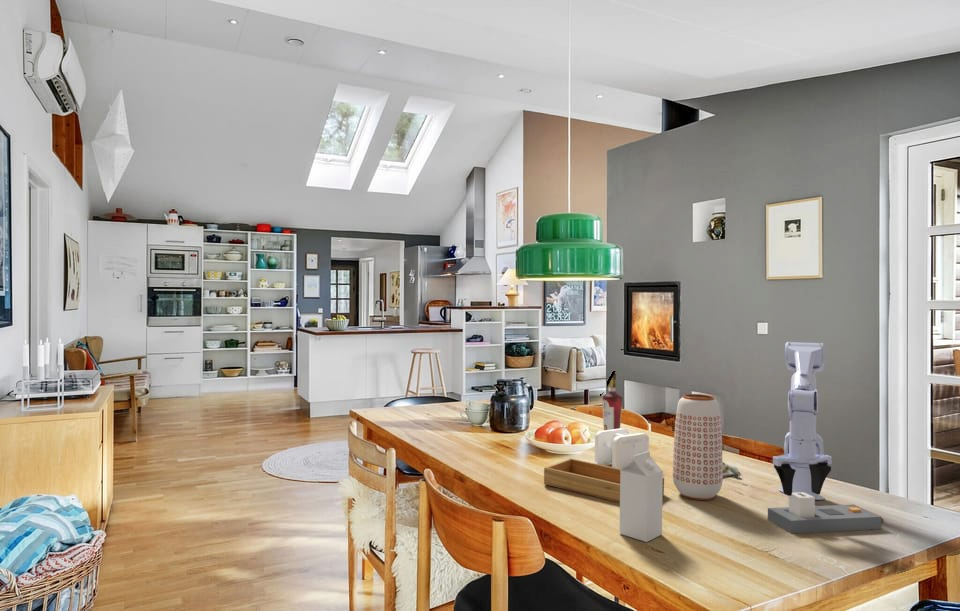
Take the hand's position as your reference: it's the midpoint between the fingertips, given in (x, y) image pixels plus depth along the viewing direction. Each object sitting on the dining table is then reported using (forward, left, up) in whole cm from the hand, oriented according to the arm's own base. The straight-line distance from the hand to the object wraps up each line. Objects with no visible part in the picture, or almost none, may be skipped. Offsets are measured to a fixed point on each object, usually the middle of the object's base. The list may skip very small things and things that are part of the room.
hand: (801, 493), depth 149 cm
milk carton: (+1, -42, -8) cm, 43 cm away
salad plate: (-50, +3, -8) cm, 51 cm away
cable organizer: (-56, -24, -8) cm, 61 cm away
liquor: (-84, -17, -8) cm, 86 cm away
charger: (0, 0, -7) cm, 7 cm away
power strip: (0, +8, -8) cm, 11 cm away
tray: (-33, -39, -8) cm, 52 cm away
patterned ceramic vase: (-25, -14, -8) cm, 30 cm away
